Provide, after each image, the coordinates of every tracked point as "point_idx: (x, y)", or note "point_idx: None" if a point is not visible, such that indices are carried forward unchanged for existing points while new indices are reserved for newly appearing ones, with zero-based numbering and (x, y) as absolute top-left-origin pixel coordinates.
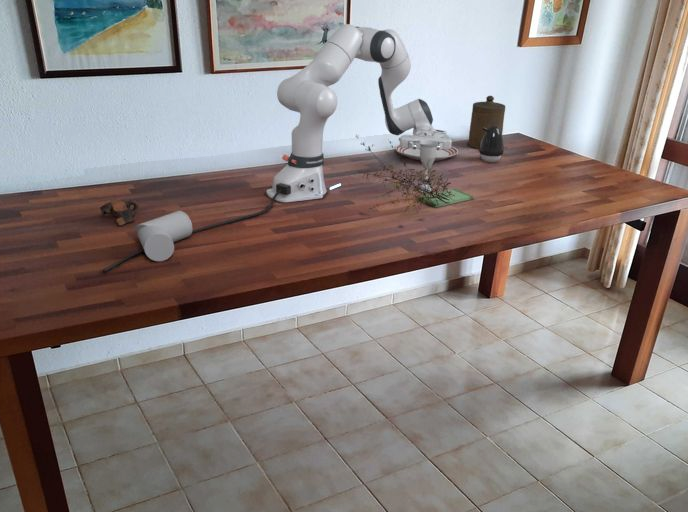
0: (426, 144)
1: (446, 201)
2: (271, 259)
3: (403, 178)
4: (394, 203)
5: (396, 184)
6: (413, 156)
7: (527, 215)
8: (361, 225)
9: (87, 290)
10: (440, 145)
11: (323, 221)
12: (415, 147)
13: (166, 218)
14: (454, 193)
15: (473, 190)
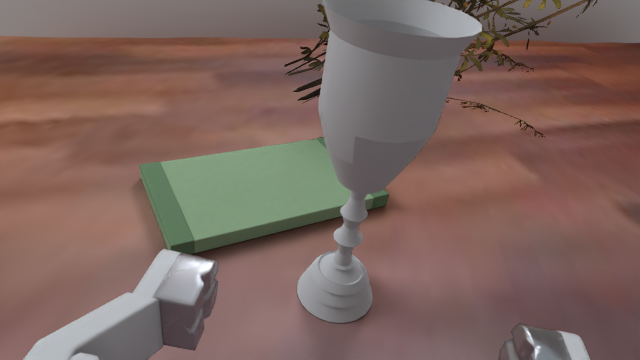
0: (411, 66)
1: (282, 146)
2: (623, 70)
3: (479, 15)
4: (474, 106)
5: (493, 44)
6: None
7: (53, 73)
8: (530, 111)
9: None
10: (156, 258)
11: (631, 137)
12: (514, 337)
13: None
14: (210, 195)
15: (40, 262)
